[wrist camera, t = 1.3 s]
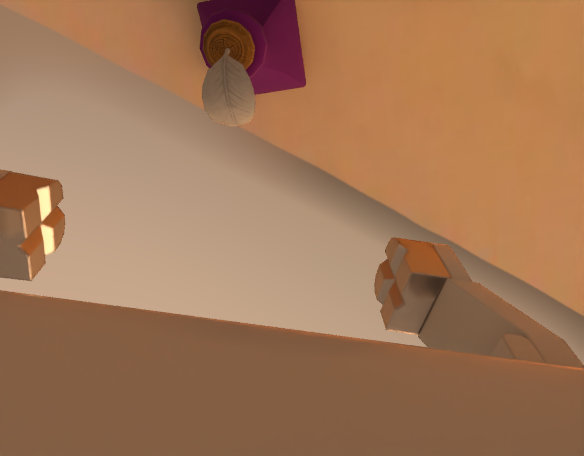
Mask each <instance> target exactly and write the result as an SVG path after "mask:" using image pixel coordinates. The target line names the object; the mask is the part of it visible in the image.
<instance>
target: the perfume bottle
mask: <svg viewBox="0 0 584 456" xmlns="http://www.w3.org/2000/svg"><path fill="white" fill-rule="evenodd" d="M197 8H198V12H199V16H200V20H201V24H202V30H201V40H200V50H201V53H202V55H203V58H204V60H205V63H206V65H207V66H208V67H209V68H210V69H209V70H208V71H207V74H206V77H205V80H204V83H203V89H202V99H203V104H204V109H205V111H206V112H207V114H208V115H209V117H210V118H211V119H212V120H214V121H216V122H217V123H221V124H224V125H227V126H241V125H244V124H247V123H249V122H250V121H251V119H252V118H253V116H254V113H255V102H256V101H255V95H256V94H262V93H268V92H275V91H281V90H287V89H294V88H300V87H304V86H305V85H306V79H305V72H304V65H303V57H302V50H301V43H300V36H299V28H298V21H297V14H296V7H295V0H209V1H204V2H199V3H198V4H197Z"/></svg>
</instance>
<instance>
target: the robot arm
mask: <svg viewBox="0 0 584 456" xmlns="http://www.w3.org/2000/svg"><path fill="white" fill-rule="evenodd" d="M62 191H63V190H62V185H61V183H60V182H59V181H58V180H53V179H47V178H41V177H37V176H31V175H25V174H21V173H15V172H11V171H6V170H0V277H1V278H11V279H18V280H27V281H32V279H33V278H34V277H35V276H36V275H37V273H38V272H39V271H40V270H41V268H42V267H43V266H44V264H45V263H46V262H45V255H48V254H50V253H53V252H55V250H56V249H57V248H58V246H59V245H60V243H61V240H62V238H63V235H64V229H65V215H64V213H63V212H62V211H61V210H60V209H59V207H58V206H57V205H58V204H59V203H60V202H61V200H62V199H63V192H62ZM385 253H386V255H387V258H388V259H387V260H386V261H384V262H383V263H381V264H380V265H379V268H378V270H377V273H376V278H375V295H376V298H377V300H378V301H379V302H380V303H382V304H383V306H382V309H381V315H382V318H383V321H384V324H385V328H386V330H390V331H396V332H402V333H408V334H414V335H418V337H419V338H420V339H421V340H422V342H423V343H424V344H425V345H426V346H427V347H428V348H427V347H420V346H412V345H405V344H397V343H390V342H382V341H375V340H366V339H360V338H352V337H345V336H337V335H330V334H322V333H315V332H307V331H300V330H292V329H285V328H277V327H270V326H262V325H255V324H248V323H240V322H232V321H225V320H217V319H210V318H203V317H195V316H188V315H180V314H172V313H165V312H158V311H150V310H142V309H135V308H127V307H120V306H113V305H106V304H97V303H91V302H83V301H76V300H68V299H61V298H53V297H45V296H38V295H31V294H23V293H15V292H8V291H1V290H0V456H584V365H583V364H582V363H581V362H580V360H579V359H578V358H577V356H576V355H575V354H574V352H573V351H572V350H571V348H570V347H569V346H568V344H567V343H566V342H565V341H564V340H563V339H561V338H560V337H558V336H557V335H555V334H554V333H552V332H551V331H549V330H548V329H546V328H545V327H543V326H542V325H540V324H539V323H537V322H536V321H534V320H533V319H531V318H530V317H529V316H527V315H525V314H524V313H523V312H521V311H520V310H518V309H517V308H515V307H514V306H512V305H511V304H509V303H508V302H506V301H504V300H503V299H502V298H500V297H499V296H497V295H496V294H494V293H493V292H491V291H490V290H488V289H487V288H485V287H484V286H482V285H481V284H479V283H475V282H472V280H471V279H470V277H469V275H468V274H467V272H466V271H465V269H464V267H463V266H462V264H461V263H460V261H459V259H458V258H457V256H456V255H455V253H454V251H453V250H452V249H451V247H449V246H448V245H443V244H434V243H429V242H422V241H415V240H408V239H401V238H391V240H390V241H389V242H388V245H387V247H386V250H385Z"/></svg>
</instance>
